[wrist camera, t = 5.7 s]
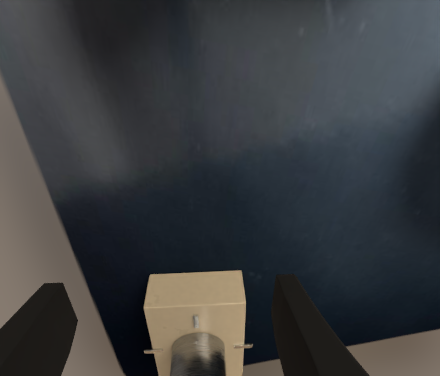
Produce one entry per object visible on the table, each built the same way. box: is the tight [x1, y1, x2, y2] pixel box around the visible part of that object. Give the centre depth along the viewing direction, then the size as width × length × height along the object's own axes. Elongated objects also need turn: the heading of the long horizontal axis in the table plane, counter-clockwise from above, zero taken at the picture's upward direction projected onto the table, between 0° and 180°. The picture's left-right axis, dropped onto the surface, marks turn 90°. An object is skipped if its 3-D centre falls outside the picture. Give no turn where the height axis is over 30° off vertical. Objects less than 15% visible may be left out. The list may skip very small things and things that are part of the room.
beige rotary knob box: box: [144, 270, 252, 376], centre depth 25 cm, size 10×8×3 cm
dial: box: [170, 333, 226, 376], centre depth 22 cm, size 4×4×4 cm
